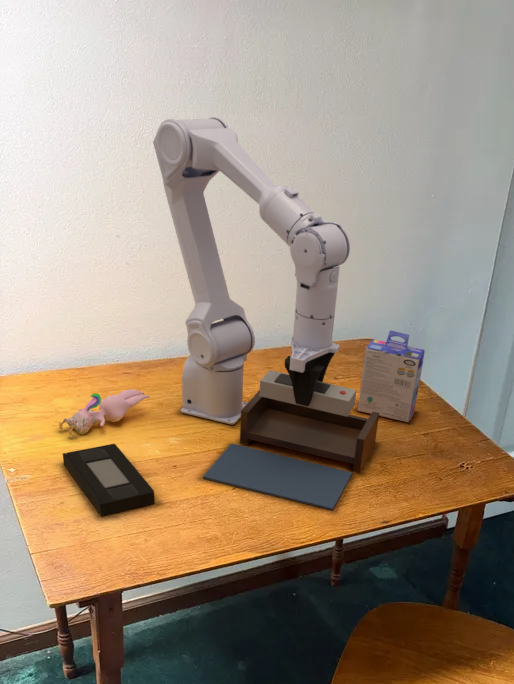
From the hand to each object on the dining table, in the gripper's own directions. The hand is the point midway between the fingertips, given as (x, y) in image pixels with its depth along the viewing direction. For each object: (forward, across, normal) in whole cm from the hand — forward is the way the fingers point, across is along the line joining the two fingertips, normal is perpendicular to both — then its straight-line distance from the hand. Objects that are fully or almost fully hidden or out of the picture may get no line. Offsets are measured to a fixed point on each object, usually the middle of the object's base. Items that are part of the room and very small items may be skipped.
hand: (307, 397), depth 121 cm
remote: (0, 0, 0) cm, 1 cm away
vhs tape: (+10, -21, +22) cm, 32 cm away
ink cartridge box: (+10, +21, -9) cm, 25 cm away
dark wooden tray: (+10, +3, 0) cm, 10 cm away
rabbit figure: (+10, -5, +31) cm, 33 cm away
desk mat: (+10, -9, +1) cm, 13 cm away
